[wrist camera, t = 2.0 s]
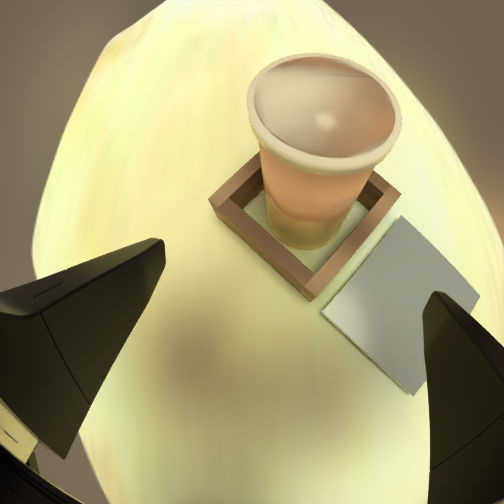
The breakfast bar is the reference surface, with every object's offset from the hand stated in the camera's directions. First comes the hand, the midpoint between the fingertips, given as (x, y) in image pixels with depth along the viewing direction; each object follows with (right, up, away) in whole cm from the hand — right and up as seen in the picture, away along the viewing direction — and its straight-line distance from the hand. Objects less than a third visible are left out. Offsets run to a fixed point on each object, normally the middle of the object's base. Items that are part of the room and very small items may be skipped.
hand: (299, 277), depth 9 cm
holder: (+3, +4, +14) cm, 15 cm away
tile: (+11, -3, +12) cm, 16 cm away
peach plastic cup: (+3, +5, +15) cm, 16 cm away
